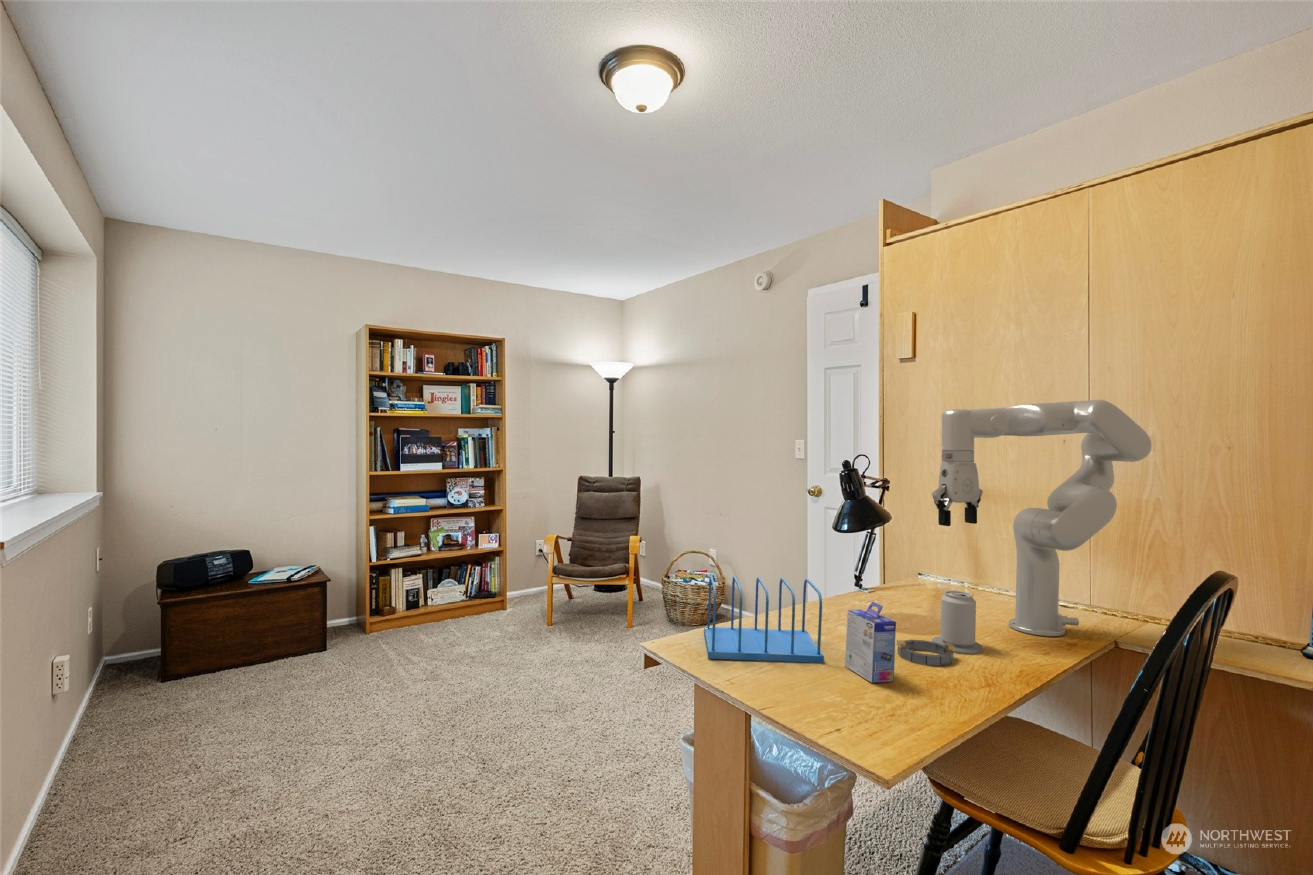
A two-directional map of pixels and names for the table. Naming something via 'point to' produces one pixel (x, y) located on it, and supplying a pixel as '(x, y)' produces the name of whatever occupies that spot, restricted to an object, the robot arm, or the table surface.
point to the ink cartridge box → (870, 644)
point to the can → (958, 618)
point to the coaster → (973, 649)
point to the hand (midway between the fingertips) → (957, 524)
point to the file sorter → (763, 633)
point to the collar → (926, 659)
